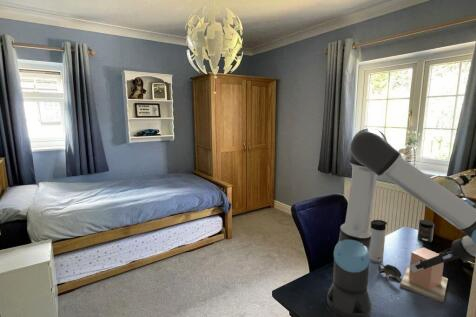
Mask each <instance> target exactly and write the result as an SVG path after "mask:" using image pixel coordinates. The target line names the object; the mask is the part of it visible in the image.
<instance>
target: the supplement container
mask: <svg viewBox="0 0 476 317" xmlns="http://www.w3.org/2000/svg"><path fill="white" fill-rule="evenodd" d="M434 228H435V222H433V221H431V220H428V219H427V220H426V219H419V221H418V227H417V239H418V241H420V242H422V243H427V244H430V243H432V241H433V238H434V237H433V236H434Z"/></svg>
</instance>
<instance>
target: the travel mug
mask: <svg viewBox="0 0 476 317" xmlns="http://www.w3.org/2000/svg"><path fill="white" fill-rule="evenodd" d="M387 225H388V223H387V221H385V220H382V219H373V220H372V221H371V222H370V228H369V230H370V231H371V232H372V236H371V242H370V249H369V256H370V262H371V263H374V264H381V262H382V263H383V262H384V252H385V240H386V230H387V229H386V228H387Z"/></svg>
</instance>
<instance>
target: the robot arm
mask: <svg viewBox="0 0 476 317" xmlns="http://www.w3.org/2000/svg"><path fill="white" fill-rule="evenodd" d="M349 149H350V156H349V164H350V165H351V167H352V172H351V179H350V180H351V181H350V187H349V194H348V202H347V208H346V214H345V221H344V223H343V224H341V225H340V229H339V236H338V241H337V243H336V245H335V246H334V250H333V273H332V275H333V276H332V284H331V286H330V287H329V290H328V292H327V294H326V295H327V298H326V300H327V301H326V302H327V305H328V306H329V308H330V310H331V311H332V312H334V313H335V314H337V315H338V316H340V317H369V316H370V315H371V314H372V301H371V299H370V294H369V291H368V285H369V284H368V282H369V268H370V262H371V261H370V256H369V249H370V242H371V236H372V232H371V231H370V228H369V226H370V223H371V222H370V220H371V215H372V209H373V202H374V196H375V191H376V185H377V184H376V183H377V178H378V177H385V178H387V179H388V180H390V181H391V182H393V184H395V185H396V186H398V187H399V188H401V189H402V190H403V191H405V192H406V193H408V194H409V195H411V196H412V197H413V198H415V199H416V200H417V201H419V202H420V203H421V204H423V205H424V206H426V207H427V208H429V209H430V210H431V211H433V212H435V214H437V215H438V216H439V217H441V218H443V219H444V220H446V221H447V222H448V223H449V224H451V225H452V226H454V227H455V228H456V229H458V230H459V231H460V232H462V233H463V234H464V235H465V236H463V237H461V238H457V239H455V240H453V241H452V243H451V247H450V248H447V249H445V250H444V251H441V252H439V253H438V254H439V255H438V256H435V257H433V258H430V259H427V260H425V261H422V260H420V262H418V263H415V264H412V265H408V266H409V267H410V269H411V270H412V272H416V271H419V270H422V269H426V268H429V267H432V266H435V265H437V264H440V263H443V262H444V263H448V262H451V261H456V260H458V259H461V261H462V260H463V261H465V262H471V261H474V260H476V259H475V257H476V203H475V202H473V201H471V200H470V199H469V198H467V197H462V198H460V196H457V195H456V194H454V193H453V192H451V191H450V190H449V189H447V188H446V187H444V186H443V185H441V184H440V183H438V181H436V180H434V179H433V178H432V177H431V176H428V175H427V174H426V173H424V172H423V171H421V170H420V169H418V168H417V167H415V166H414V165H413V164H411V163H410V162H408V161H407V160H405V159H404V158H403V157H402V153H401V152H399V151H398V150H397V149H395V148H394V147H393V146H392V145H391V144H390V143H389V142H388V141H387V137H386V135H385V134H384V133H383V132H382V131H380V130H379V129H375V128H365V129H361V130H359V131H357V133H355V135H354V136H353V138H352V140H351V143H350V148H349Z"/></svg>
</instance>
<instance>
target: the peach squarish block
mask: <svg viewBox="0 0 476 317" xmlns="http://www.w3.org/2000/svg"><path fill="white" fill-rule="evenodd" d="M410 253H411V254H410V263H409V264H410V265H412V264H415V263H418V262H420V260H422V261H425V260H427V259H430V258H433V257H435V256H438V255H439V254H438V253H437V252H435V251H432V249H431V250H430V249H429V248H426V247H421V248H418V249H415V250H413V251H411V252H410ZM444 263H445V262H443V263H440V264H437V265H435V266H432V267H429V268H426V269H422V270H419V271H416V272H412V270H411V269H410V271H409V279H411V280H413V281H415V282H416V283H418V284H420V285H422V286H424V287H425V288H427V289H429V290H430V289H432V288H434V287H435V286H437V285H439V284H441V280H442V277H443V273H444Z"/></svg>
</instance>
